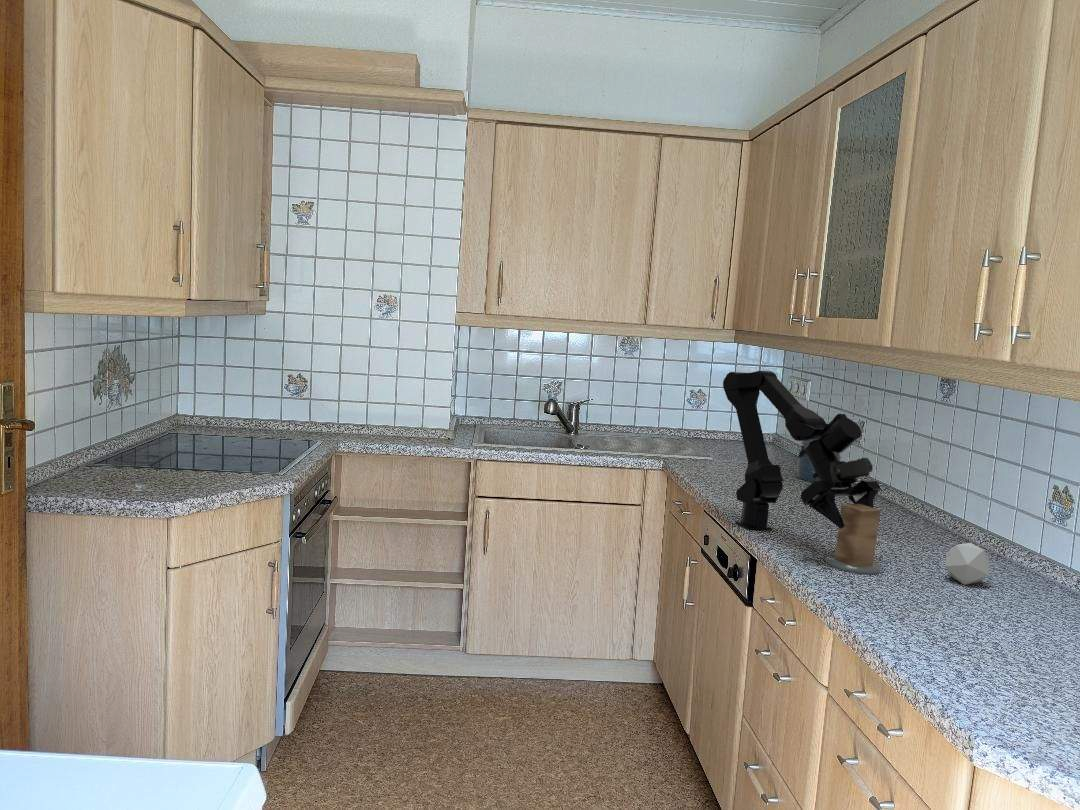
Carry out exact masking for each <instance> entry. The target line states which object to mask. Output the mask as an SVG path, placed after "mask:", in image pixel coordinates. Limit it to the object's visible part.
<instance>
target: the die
mask: <svg viewBox="0 0 1080 810" xmlns="http://www.w3.org/2000/svg"><path fill="white" fill-rule="evenodd" d="M945 556H946V557H945V562H944V567H945V569H946V570H947V572H948V574H949V575H950V577H951V578H953V579H954V580H956V581H958V582H959V583H960V584H962V585H964V586H965V585H972V584H976V583H979V582H981V581H982V580H984V579H985V578H986V577H988V576H989V574H990V567H991V566H990V565H991V561H990V559H989V557H988V554H987V553H986V552H985V550H984V549H983V548H981V547H979V546H977V545H975V544H974V543H972V542H966V543H960V544H955V545H954V546H953V547H952V548H951V549H950V550H948V551H947V552H946V555H945Z"/></svg>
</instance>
